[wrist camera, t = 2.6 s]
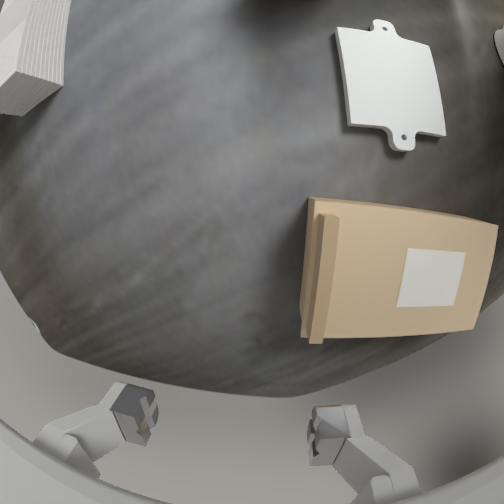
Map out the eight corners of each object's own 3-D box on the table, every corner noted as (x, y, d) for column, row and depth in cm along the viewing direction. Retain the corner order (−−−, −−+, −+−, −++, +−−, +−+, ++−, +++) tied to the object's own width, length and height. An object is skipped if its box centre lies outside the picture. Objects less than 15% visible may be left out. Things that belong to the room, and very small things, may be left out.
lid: (494, 224, 22) (512, 230, 18) (470, 326, 25) (483, 339, 22) (313, 200, 23) (320, 203, 20) (300, 333, 26) (303, 352, 23)
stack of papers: (64, 86, 27) (15, 71, 17) (23, 116, 28) (-22, 111, 18) (77, -27, 20) (50, -47, 9) (40, 0, 21) (11, -14, 10)
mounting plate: (330, 19, 23) (333, 12, 21) (418, 36, 22) (424, 31, 20) (348, 147, 28) (352, 145, 26) (439, 156, 27) (447, 156, 25)
